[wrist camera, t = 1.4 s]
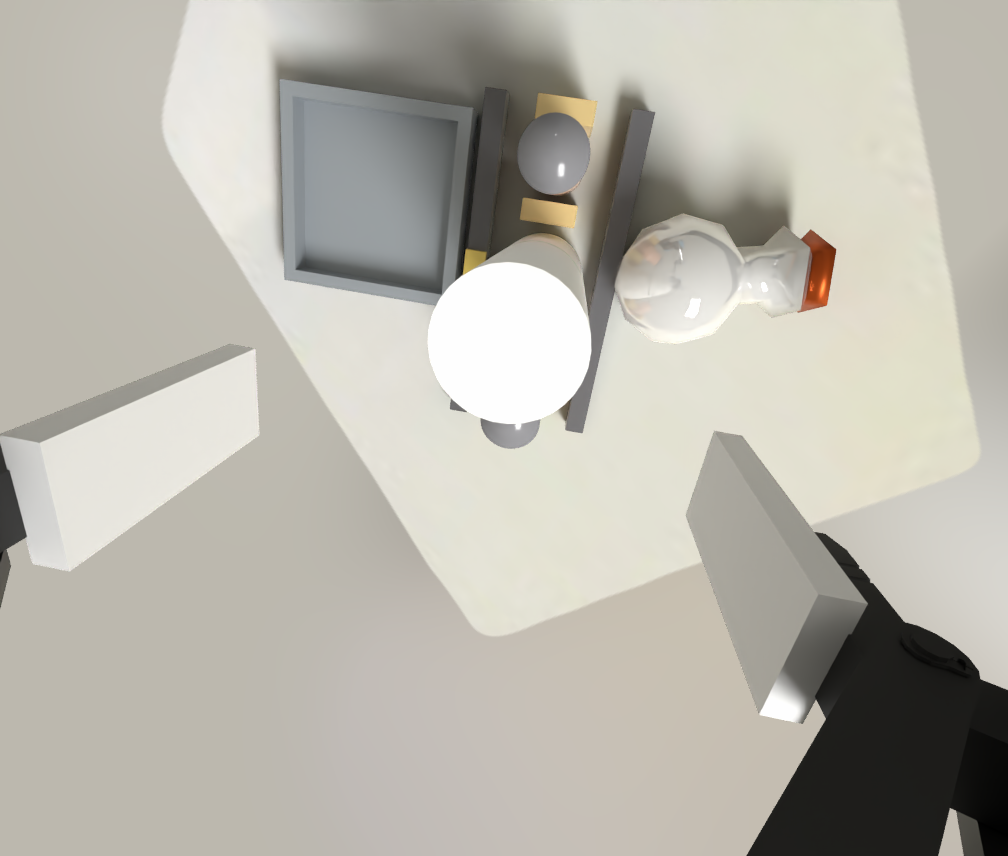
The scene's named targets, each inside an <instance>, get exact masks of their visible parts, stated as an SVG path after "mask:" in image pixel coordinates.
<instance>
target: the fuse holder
mask: <svg viewBox="0 0 1008 856" xmlns="http://www.w3.org/2000/svg"><path fill="white" fill-rule="evenodd" d="M509 97H510V95H509V93H508V91H507V90H502V89H495V88H489V87H486V88H485V97H484V106H483V115H482V124H481V133H480V142H479V151H478V160H477V169H476V178H475V187H474V196H473V205H472V214H471V223H470V232H469V241H468V249H466V251H465V260H464V269H463V275H464V274H466V273H467V272H469V271H470V270H472V269H474V268H475V267H477V266H478V265H480V264H482V263H483V262H485V261H486V260H488V259H489V254H490V246H491V239H492V231H493V223H494V215H495V207H496V199H497V192H498V184H499V176H500V168H501V160H502V152H503V144H504V137H505V129H506V121H507V113H508V105H509ZM596 106H597V101H591V100H585V99H578V98H571V97H564V96H557V95H551V94H544V93H538V98H537V105H536V112H535V119H536V118H538V117H539V116H541V115H544V114H547V113H553V112H558V113H564V114H567V115H569V116H571V117H573V118H574V119H576V120H577V121H578V122H579V123H580V124H581V125H582V127H583V128H584V130H585V132H586V134H587V136H588V137H590V136H591V132H592V128H593V123H594V117H595V112H596ZM654 115H655V112H651V111H644V110H638V109H633V110H632V112H631V113H630V118H629V123H628V128H627V132H626V137H625V142H624V147H623V151H622V156H621V161H620V166H619V171H618V175H617V180H616V185H615V190H614V194H613V199H612V204H611V209H610V213H609V218H608V223H607V228H606V232H605V237H604V242H603V247H602V251H601V256H600V261H599V266H598V270H597V275H596V280H595V285H594V289H593V294H592V299H591V304H590V309H589V313H588V317H589V324H590V332H591V356H590V362H589V367H588V370H587V372H586V375H585V377H584V380H583V382H582V384H581V385H580V387H579V388H578V390H577V391H576V393H575V394H574V395H573V396H572V397H571V399H570V404H569V408H568V413H567V418H566V426H565V430H567V431H573V432H578V433H583V428H584V424H585V420H586V415H587V411H588V406H589V402H590V397H591V393H592V389H593V384H594V380H595V375H596V371H597V367H598V362H599V358H600V353H601V349H602V345H603V340H604V336H605V331H606V327H607V322H608V318H609V314H610V309H611V305H612V300H613V296H614V292H615V287H614V286H615V281H616V275H617V270H618V265H619V262H620V260H621V259H622V256H623V252H624V247H625V243H626V239H627V234H628V230H629V225H630V221H631V216H632V212H633V208H634V203H635V199H636V194H637V190H638V186H639V181H640V177H641V172H642V168H643V163H644V159H645V155H646V150H647V146H648V141H649V137H650V133H651V128H652V124H653V119H654ZM577 208H578V206H574V205H567V204H561V203H555V202H549V201H542V200H536V199H530V198H523V201H522V208H521V214H520V220H525V221H532V222H538V223H544V224H550V225H556V226H563V227H569V228H574V224H575V219H576V214H577ZM450 409H452V410H457V411H463V412H467V411H466V410H464V409H463V408H462V407H461V406H459V405H458V404H457V403H456V402H455V401H453V400H452V399H451V403H450Z"/></svg>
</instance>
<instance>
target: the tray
mask: <svg viewBox="0 0 1008 856" xmlns="http://www.w3.org/2000/svg"><path fill="white" fill-rule="evenodd" d="M280 118H281V158H282V198H283V238H284V278H285V280H289V281H295V282H301V283H307V284H313V285H318V286H324V287H330V288H336V289H342V290H348V291H353V292H359V293H365V294H371V295H377V296H383V297H388V298H394V299H400V300H406V301H412V302H418V303H423V304H429V305H435V306H436V305H437V303H438V301H439V299H440V298H441V296H442V295H443V294H444V293H445V291H446V290H447V289H448V287H449V286H451V285H452V284H453V283H454V282H455V281H456V280H457V279H459V278H460V277H461V269H462V259H463V250H464V241H465V232H466V222H467V213H468V204H469V195H470V185H471V176H472V167H473V157H474V148H475V139H476V130H477V120H478V112H477V111H475V110H474V109H473V108H471V107H464V106H457V105H451V104H444V103H438V102H431V101H424V100H418V99H411V98H404V97H398V96H391V95H384V94H378V93H371V92H364V91H358V90H351V89H344V88H338V87H331V86H324V85H318V84H311V83H304V82H298V81H291V80H284V79H280Z"/></svg>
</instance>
